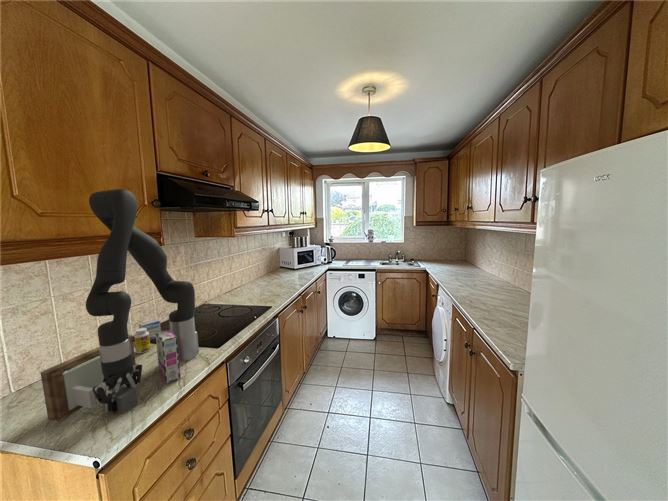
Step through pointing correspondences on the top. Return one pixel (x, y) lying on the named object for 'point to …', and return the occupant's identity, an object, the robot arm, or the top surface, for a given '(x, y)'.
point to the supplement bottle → (142, 340)
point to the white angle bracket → (83, 383)
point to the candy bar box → (167, 355)
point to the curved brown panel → (55, 383)
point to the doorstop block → (125, 398)
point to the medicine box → (151, 328)
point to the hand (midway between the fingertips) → (122, 404)
